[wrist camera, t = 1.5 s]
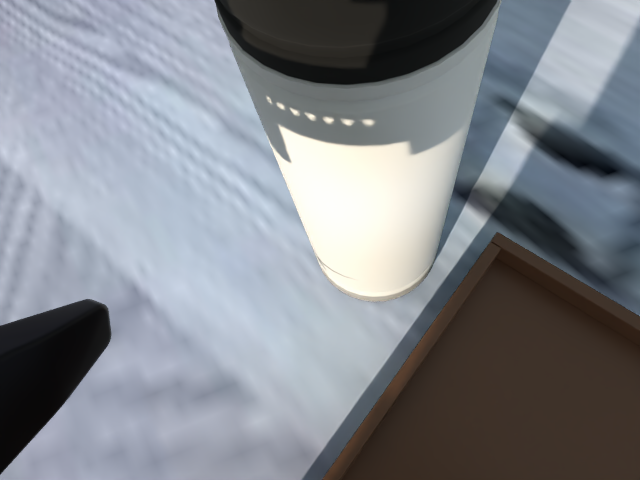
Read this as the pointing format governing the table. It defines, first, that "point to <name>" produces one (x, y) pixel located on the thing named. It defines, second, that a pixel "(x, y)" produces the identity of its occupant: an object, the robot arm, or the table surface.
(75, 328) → the robot arm
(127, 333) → the table surface
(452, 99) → the travel mug
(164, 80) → the table surface
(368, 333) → the table surface
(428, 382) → the serving tray
